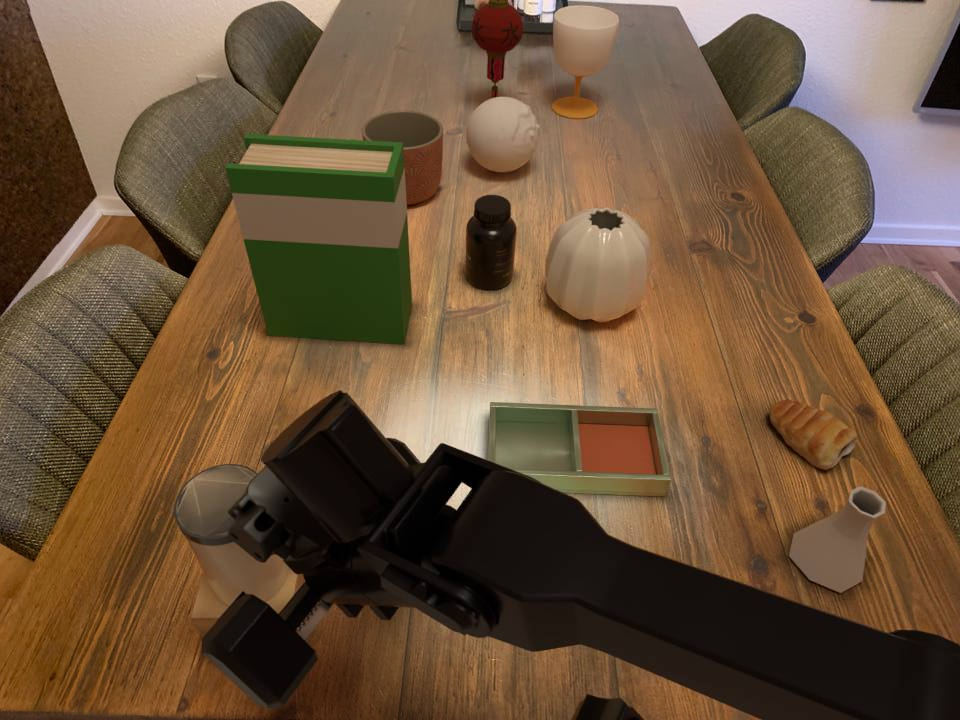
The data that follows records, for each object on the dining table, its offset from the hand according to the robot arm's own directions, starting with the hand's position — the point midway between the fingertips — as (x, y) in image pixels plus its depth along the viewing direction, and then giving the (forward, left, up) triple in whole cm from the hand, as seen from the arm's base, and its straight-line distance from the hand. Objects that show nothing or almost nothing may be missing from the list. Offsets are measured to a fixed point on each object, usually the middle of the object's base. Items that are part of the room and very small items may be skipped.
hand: (282, 562), depth 54 cm
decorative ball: (+84, +10, -13) cm, 85 cm away
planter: (+71, +22, -13) cm, 75 cm away
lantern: (+104, +18, -13) cm, 107 cm away
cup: (+111, +4, -13) cm, 111 cm away
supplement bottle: (+55, +2, -13) cm, 56 cm away
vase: (+55, -13, -13) cm, 58 cm away
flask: (+25, -44, -13) cm, 52 cm away
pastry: (+40, -42, -13) cm, 60 cm away
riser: (+1, +5, -13) cm, 14 cm away
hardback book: (+39, +17, -13) cm, 44 cm away
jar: (+1, +5, -6) cm, 8 cm away
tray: (+28, -17, -13) cm, 36 cm away
